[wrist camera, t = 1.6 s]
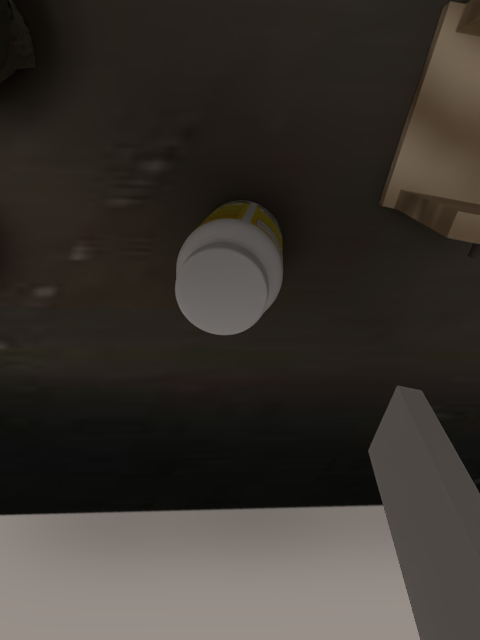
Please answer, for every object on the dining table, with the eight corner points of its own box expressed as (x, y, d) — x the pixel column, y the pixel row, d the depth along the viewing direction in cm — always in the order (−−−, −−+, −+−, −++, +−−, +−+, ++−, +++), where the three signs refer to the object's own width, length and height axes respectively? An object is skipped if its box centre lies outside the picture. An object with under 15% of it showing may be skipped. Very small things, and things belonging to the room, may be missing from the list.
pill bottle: (193, 265, 29) (147, 327, 19) (214, 187, 27) (173, 212, 17) (267, 290, 30) (258, 363, 20) (295, 215, 27) (302, 257, 17)
